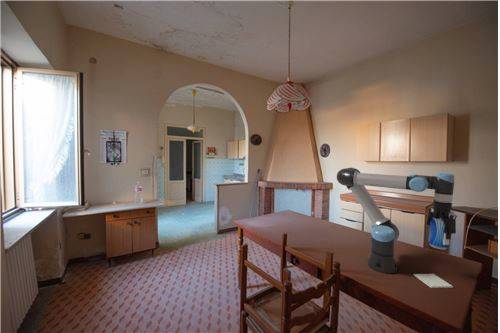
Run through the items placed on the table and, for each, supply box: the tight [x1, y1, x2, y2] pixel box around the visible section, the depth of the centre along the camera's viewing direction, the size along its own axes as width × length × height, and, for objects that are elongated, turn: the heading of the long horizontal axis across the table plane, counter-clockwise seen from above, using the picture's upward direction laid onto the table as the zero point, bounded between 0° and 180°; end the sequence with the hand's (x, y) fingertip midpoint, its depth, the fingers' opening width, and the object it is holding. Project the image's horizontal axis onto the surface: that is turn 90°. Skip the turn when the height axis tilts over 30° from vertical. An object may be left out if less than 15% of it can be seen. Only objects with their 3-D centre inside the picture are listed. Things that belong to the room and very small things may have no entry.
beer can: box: [427, 218, 449, 251], centre depth 117 cm, size 8×8×16 cm
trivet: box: [413, 273, 454, 289], centre depth 111 cm, size 11×11×1 cm
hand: (439, 241), depth 117 cm, fingers closed on beer can, 7 cm apart
